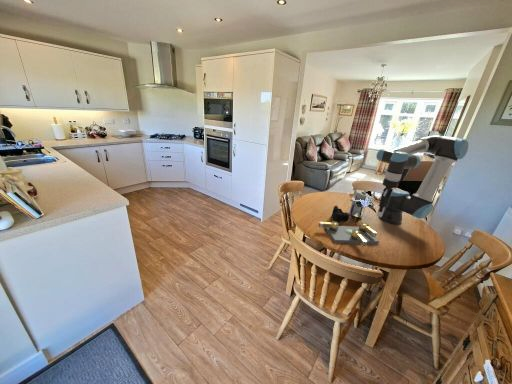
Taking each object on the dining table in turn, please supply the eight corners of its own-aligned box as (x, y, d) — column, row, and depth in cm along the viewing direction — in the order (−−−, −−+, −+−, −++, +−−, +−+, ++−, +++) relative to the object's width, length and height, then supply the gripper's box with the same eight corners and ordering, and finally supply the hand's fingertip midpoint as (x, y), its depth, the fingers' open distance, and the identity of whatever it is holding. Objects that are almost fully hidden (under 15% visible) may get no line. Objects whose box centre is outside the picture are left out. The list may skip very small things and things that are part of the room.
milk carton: (349, 212, 165) (356, 188, 157) (358, 214, 163) (365, 190, 155) (350, 216, 158) (357, 192, 151) (359, 218, 156) (367, 193, 149)
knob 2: (357, 227, 139) (358, 222, 137) (363, 227, 140) (365, 222, 138) (370, 238, 128) (372, 233, 126) (377, 238, 129) (379, 232, 127)
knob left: (349, 234, 130) (350, 229, 129) (356, 235, 130) (358, 229, 129) (359, 247, 119) (361, 241, 117) (367, 247, 119) (369, 241, 117)
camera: (349, 227, 143) (353, 215, 139) (333, 225, 144) (336, 212, 140) (344, 217, 156) (348, 205, 152) (330, 215, 157) (333, 204, 153)
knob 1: (335, 226, 138) (337, 221, 136) (338, 230, 133) (340, 225, 132) (317, 226, 137) (318, 220, 135) (320, 230, 132) (321, 224, 131)
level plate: (364, 229, 142) (365, 225, 141) (378, 243, 127) (379, 239, 126) (324, 228, 140) (325, 224, 139) (334, 242, 125) (335, 238, 124)
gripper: (387, 175, 124) (375, 210, 133) (381, 179, 115) (369, 216, 124) (402, 179, 119) (388, 215, 128) (396, 183, 110) (382, 222, 119)
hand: (379, 215), depth 126 cm, fingers closed
